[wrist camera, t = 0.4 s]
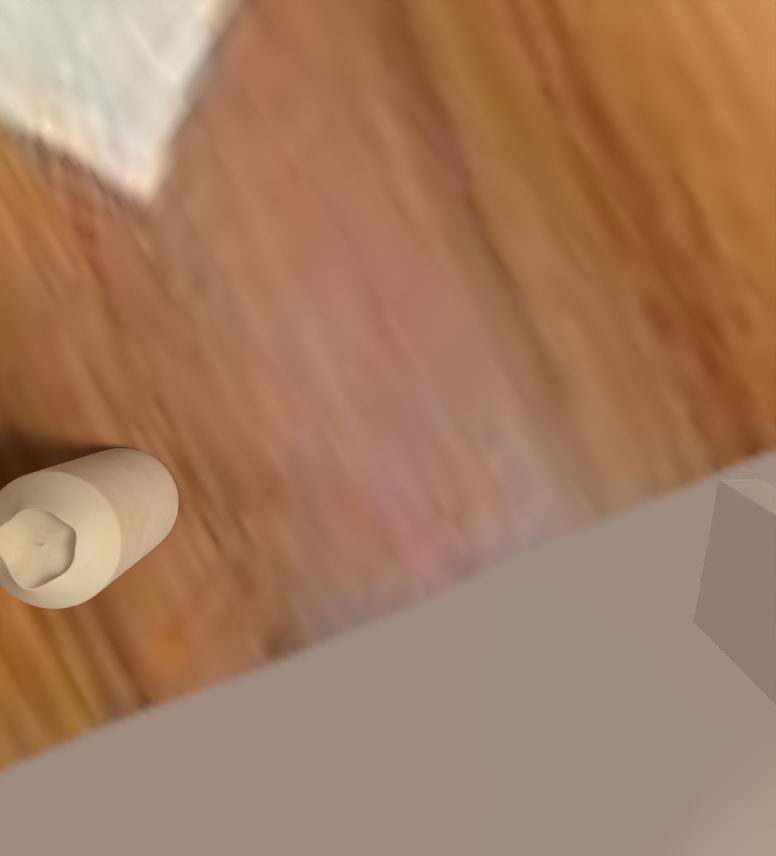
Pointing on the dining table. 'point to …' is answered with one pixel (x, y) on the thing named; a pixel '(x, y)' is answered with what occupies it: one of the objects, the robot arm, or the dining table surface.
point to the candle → (82, 525)
